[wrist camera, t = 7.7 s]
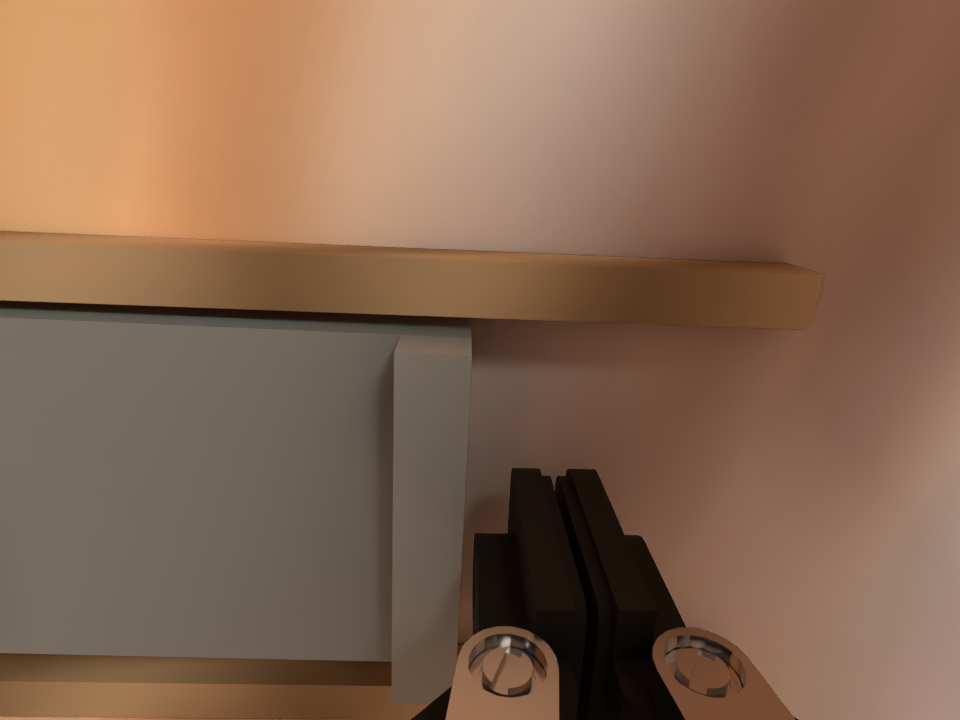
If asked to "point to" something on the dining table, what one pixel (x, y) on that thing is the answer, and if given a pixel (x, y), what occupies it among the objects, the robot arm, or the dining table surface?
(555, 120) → the dining table surface
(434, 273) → the guide rails
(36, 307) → the slate gray sliding drawer
